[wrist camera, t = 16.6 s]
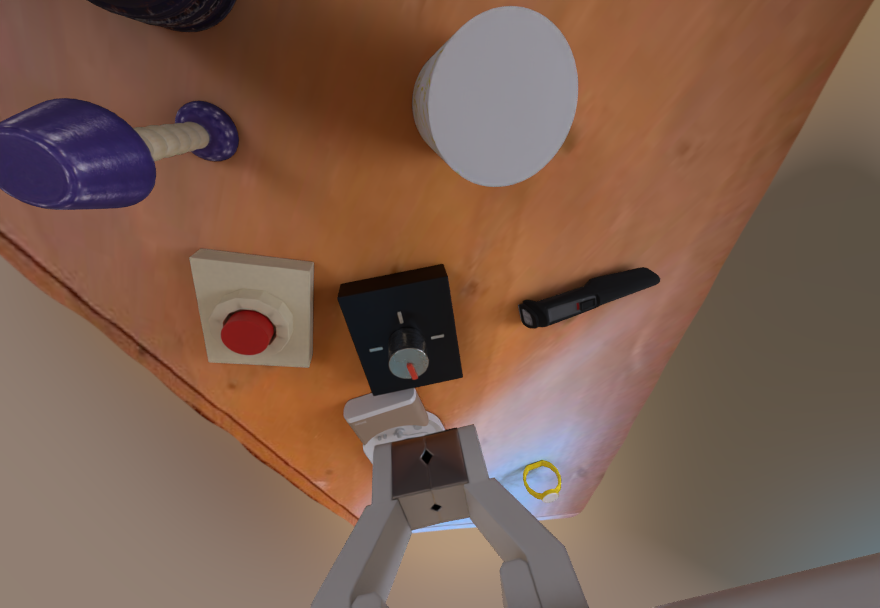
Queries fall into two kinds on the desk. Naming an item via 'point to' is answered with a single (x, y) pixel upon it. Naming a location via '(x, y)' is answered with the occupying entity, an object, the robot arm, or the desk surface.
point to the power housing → (256, 303)
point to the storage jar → (171, 12)
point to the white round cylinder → (498, 96)
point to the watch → (549, 494)
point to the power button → (247, 332)
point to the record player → (389, 418)
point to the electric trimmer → (585, 297)
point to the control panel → (402, 324)
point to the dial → (407, 353)
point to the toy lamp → (100, 152)
